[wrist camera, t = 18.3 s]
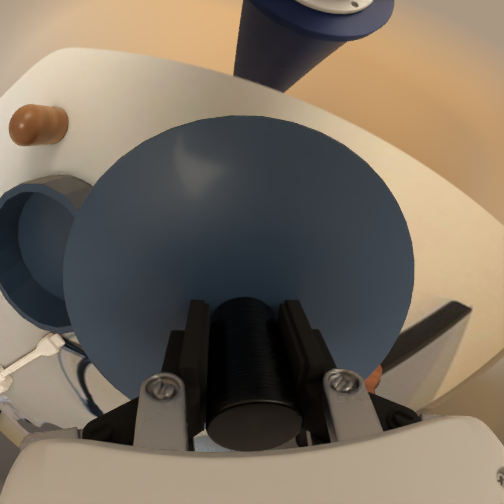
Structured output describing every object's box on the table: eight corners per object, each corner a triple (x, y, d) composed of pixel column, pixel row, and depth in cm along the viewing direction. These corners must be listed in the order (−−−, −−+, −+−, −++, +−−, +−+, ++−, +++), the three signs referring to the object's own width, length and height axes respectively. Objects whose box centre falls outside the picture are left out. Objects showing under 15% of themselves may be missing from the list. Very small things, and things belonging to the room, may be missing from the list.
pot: (17, 148, 23) (-15, 152, 17) (169, 221, 28) (156, 240, 22) (-3, 262, 27) (-29, 280, 22) (124, 334, 32) (111, 366, 27)
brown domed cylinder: (48, 103, 22) (10, 98, 15) (74, 113, 23) (37, 108, 16) (35, 137, 23) (-4, 140, 16) (60, 149, 24) (21, 153, 17)
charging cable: (77, 345, 33) (68, 359, 30) (-6, 390, 35) (-12, 400, 32) (54, 317, 32) (43, 330, 28) (-22, 372, 33) (-29, 382, 30)
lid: (152, 56, 9) (80, -20, 3) (450, 234, 13) (540, 288, 7) (57, 356, 14) (12, 438, 7) (294, 434, 18) (312, 513, 11)
